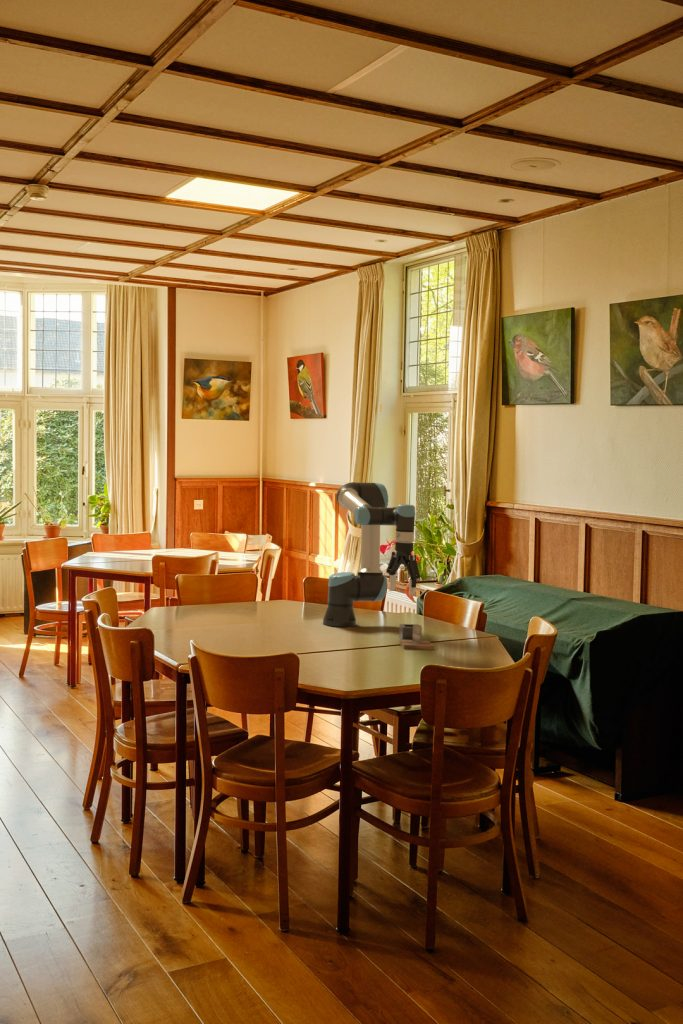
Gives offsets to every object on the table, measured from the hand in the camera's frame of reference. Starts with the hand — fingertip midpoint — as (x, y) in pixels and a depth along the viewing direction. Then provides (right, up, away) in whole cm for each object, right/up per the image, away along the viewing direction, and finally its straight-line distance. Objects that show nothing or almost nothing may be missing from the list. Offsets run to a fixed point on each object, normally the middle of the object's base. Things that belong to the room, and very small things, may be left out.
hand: (402, 593), depth 415 cm
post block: (+5, -21, -6) cm, 23 cm away
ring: (+4, -21, +8) cm, 22 cm away
